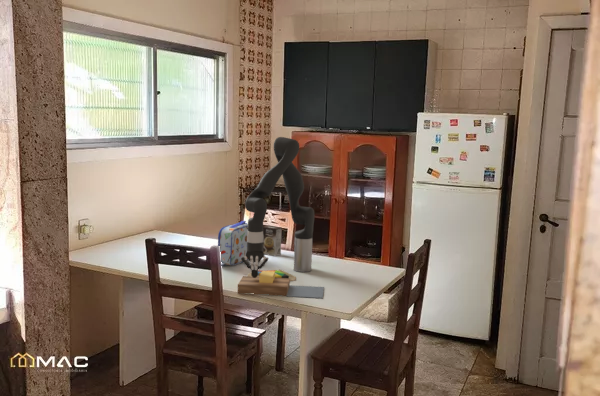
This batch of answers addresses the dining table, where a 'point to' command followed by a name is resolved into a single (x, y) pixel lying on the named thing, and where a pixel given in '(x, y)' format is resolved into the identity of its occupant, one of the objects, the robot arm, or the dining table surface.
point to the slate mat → (305, 291)
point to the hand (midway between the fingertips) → (254, 277)
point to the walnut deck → (264, 286)
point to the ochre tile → (267, 277)
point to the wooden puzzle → (278, 274)
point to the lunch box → (233, 243)
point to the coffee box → (272, 240)
